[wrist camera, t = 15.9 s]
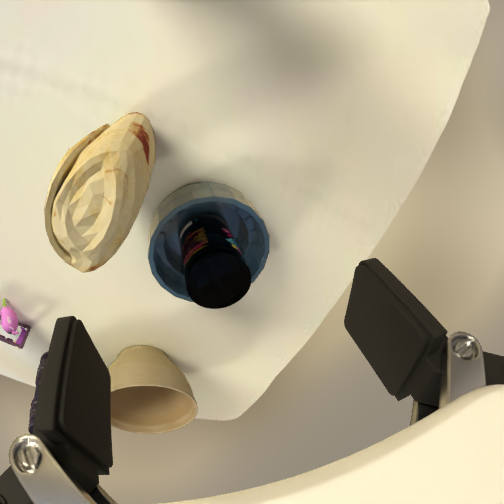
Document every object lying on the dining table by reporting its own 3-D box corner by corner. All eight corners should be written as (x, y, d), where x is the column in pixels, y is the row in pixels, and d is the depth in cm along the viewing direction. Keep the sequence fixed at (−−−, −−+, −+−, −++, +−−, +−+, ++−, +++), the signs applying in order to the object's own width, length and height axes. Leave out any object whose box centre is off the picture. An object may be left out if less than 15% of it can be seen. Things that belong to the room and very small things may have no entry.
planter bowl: (158, 394, 55) (164, 440, 46) (86, 367, 46) (82, 418, 38) (205, 352, 52) (218, 403, 43) (125, 315, 43) (124, 372, 34)
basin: (139, 190, 34) (137, 209, 30) (254, 173, 37) (269, 188, 33) (160, 285, 42) (162, 311, 37) (257, 267, 45) (269, 290, 40)
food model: (131, 192, 34) (112, 302, 18) (83, 171, 31) (19, 266, 14) (170, 119, 31) (180, 163, 15) (119, 95, 28) (66, 110, 11)
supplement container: (213, 264, 42) (230, 315, 33) (169, 246, 38) (174, 297, 30) (239, 223, 40) (264, 268, 31) (194, 202, 36) (206, 244, 28)
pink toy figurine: (-27, 332, 29) (21, 353, 33) (-25, 302, 29) (25, 323, 33) (-14, 314, 35) (30, 332, 39) (-11, 287, 34) (34, 305, 39)
